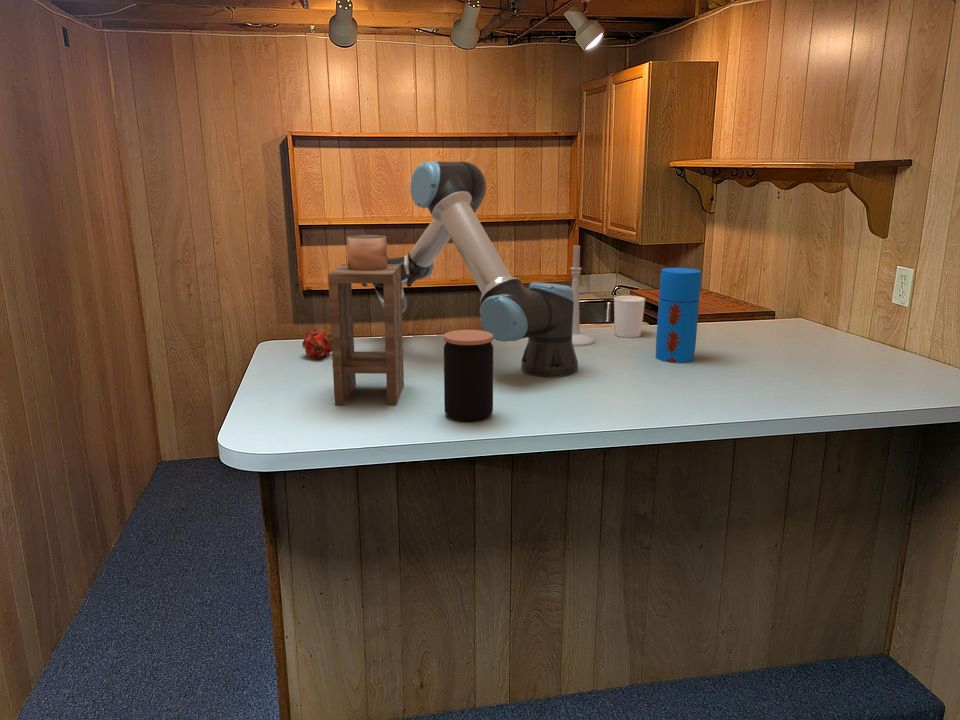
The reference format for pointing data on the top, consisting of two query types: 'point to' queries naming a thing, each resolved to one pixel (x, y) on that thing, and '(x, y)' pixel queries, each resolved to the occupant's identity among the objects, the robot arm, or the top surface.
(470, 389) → the coffee jar
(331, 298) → the potting stand
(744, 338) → the top surface
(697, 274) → the thermos
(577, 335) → the candlestick
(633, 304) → the white cup
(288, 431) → the top surface
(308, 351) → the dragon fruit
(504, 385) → the top surface
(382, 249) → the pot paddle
